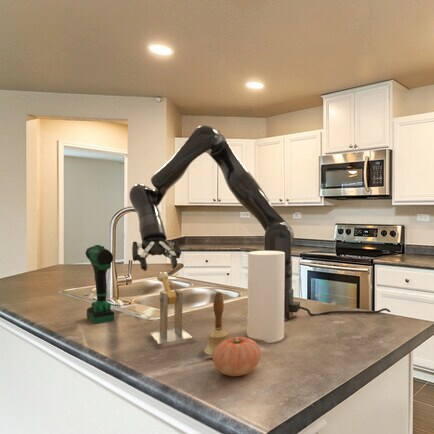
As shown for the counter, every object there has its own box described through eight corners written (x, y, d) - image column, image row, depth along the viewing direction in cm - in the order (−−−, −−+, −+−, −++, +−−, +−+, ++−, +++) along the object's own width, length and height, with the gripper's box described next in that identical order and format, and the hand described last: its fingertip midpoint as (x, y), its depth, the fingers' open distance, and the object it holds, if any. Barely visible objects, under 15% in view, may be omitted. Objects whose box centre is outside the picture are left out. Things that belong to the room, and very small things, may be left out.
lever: (155, 278, 118) (156, 269, 117) (166, 277, 120) (167, 268, 119) (165, 306, 108) (167, 296, 107) (177, 304, 110) (178, 295, 108)
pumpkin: (213, 365, 91) (214, 332, 91) (259, 361, 94) (259, 329, 94) (210, 385, 81) (211, 347, 81) (262, 380, 83) (262, 344, 83)
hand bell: (235, 358, 96) (236, 295, 96) (201, 361, 94) (201, 296, 93) (233, 347, 104) (234, 288, 104) (201, 349, 101) (202, 290, 101)
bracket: (149, 337, 111) (150, 289, 111) (181, 331, 116) (181, 286, 116) (158, 348, 102) (159, 297, 102) (192, 341, 108) (193, 293, 107)
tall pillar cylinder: (282, 330, 118) (283, 250, 118) (285, 342, 108) (286, 254, 108) (247, 332, 117) (248, 250, 116) (246, 344, 106) (247, 254, 106)
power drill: (94, 327, 119) (94, 247, 119) (78, 309, 141) (78, 241, 140) (114, 324, 123) (115, 247, 122) (96, 307, 144) (96, 241, 144)
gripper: (130, 222, 122) (137, 262, 113) (176, 222, 131) (186, 259, 122) (127, 238, 127) (133, 277, 118) (172, 237, 135) (181, 273, 126)
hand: (160, 268), depth 120 cm, fingers open, 8 cm apart
